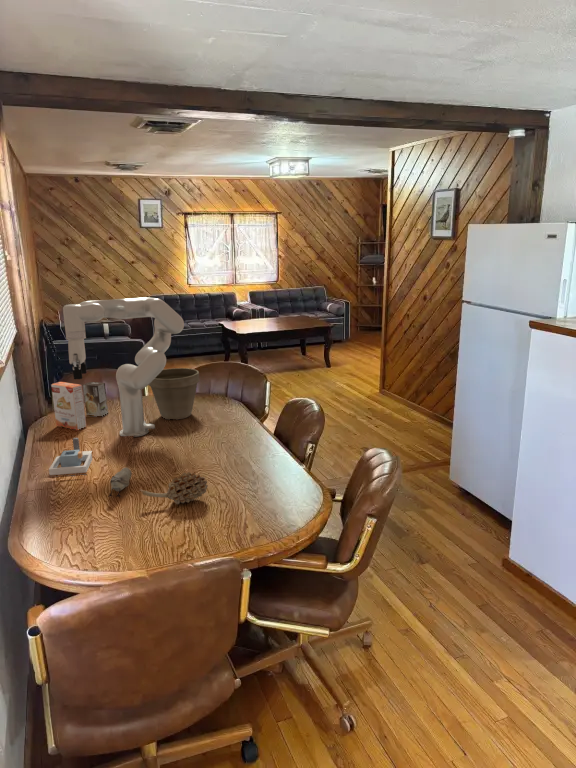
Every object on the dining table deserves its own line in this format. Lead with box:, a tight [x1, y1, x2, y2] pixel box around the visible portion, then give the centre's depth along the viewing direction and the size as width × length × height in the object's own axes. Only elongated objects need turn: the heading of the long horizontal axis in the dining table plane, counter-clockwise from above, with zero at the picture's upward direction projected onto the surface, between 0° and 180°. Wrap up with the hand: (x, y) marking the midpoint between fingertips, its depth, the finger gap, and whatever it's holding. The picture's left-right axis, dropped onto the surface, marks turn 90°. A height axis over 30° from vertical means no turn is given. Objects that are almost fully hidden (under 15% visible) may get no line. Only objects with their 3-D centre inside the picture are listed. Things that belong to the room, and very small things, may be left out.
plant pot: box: [148, 367, 200, 420], centre depth 276 cm, size 25×25×22 cm
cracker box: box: [50, 381, 87, 431], centre depth 261 cm, size 14×6×21 cm, turn 62°
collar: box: [59, 449, 83, 467], centre depth 213 cm, size 6×7×6 cm
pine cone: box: [139, 471, 209, 505], centre depth 184 cm, size 22×10×10 cm, turn 108°
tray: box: [48, 453, 93, 477], centre depth 214 cm, size 13×13×4 cm
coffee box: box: [82, 381, 109, 417], centre depth 280 cm, size 9×6×16 cm
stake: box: [72, 437, 93, 454], centre depth 224 cm, size 10×9×8 cm
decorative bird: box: [107, 467, 133, 499], centre depth 196 cm, size 5×16×7 cm, turn 179°
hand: (80, 376), depth 232 cm, fingers open, 9 cm apart
